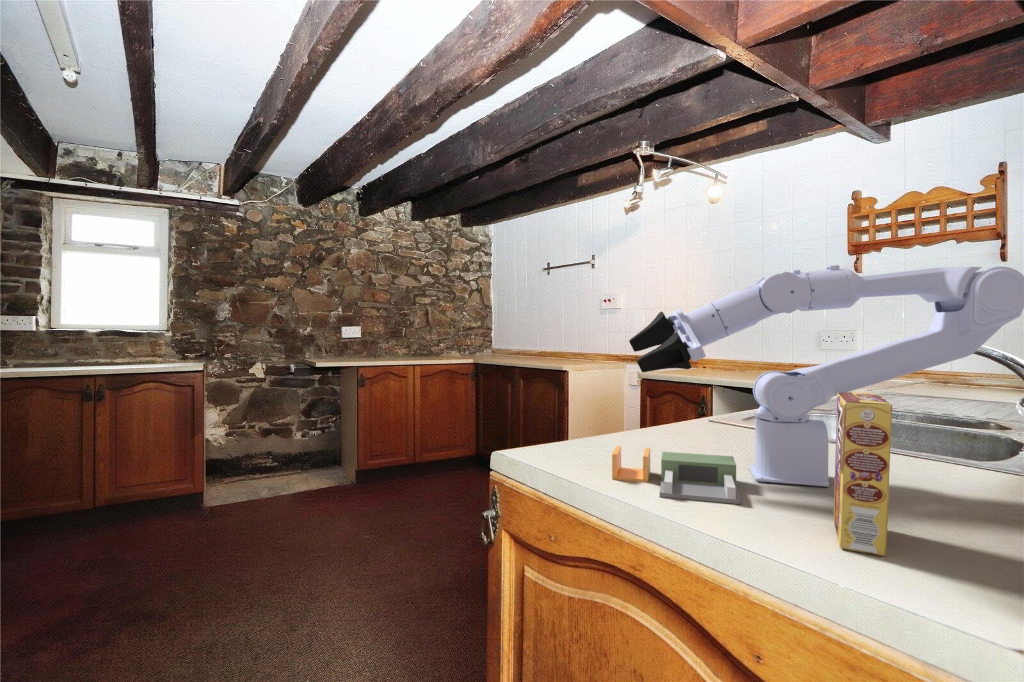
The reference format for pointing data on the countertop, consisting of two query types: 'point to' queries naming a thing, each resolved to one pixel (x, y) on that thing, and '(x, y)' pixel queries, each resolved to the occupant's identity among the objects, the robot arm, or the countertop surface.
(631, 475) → the chute
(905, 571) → the countertop surface
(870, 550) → the candy box
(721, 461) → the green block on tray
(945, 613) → the countertop surface
